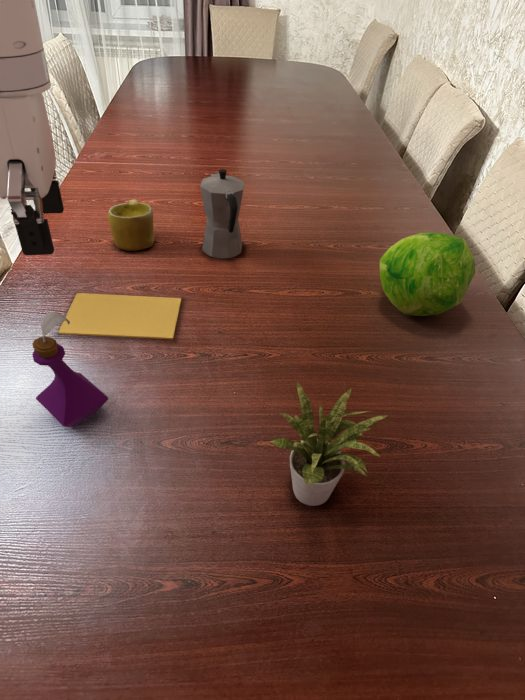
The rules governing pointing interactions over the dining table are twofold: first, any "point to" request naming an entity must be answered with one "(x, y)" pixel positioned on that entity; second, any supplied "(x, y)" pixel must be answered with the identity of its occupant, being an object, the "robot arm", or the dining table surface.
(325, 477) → the house plant
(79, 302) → the yellow rectangular board
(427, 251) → the lettuce
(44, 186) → the robot arm
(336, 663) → the dining table surface
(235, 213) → the coffeepot
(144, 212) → the mug
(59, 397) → the purple potion bottle
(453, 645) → the dining table surface
